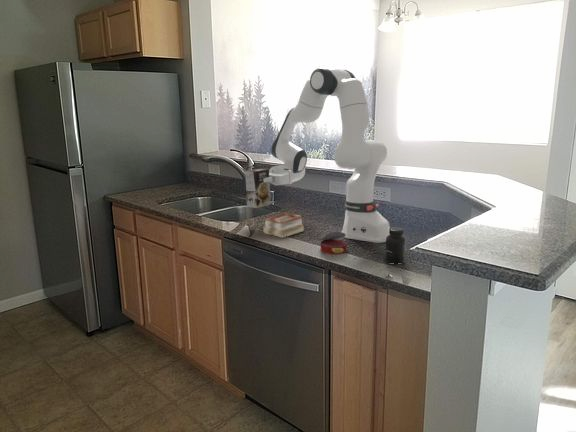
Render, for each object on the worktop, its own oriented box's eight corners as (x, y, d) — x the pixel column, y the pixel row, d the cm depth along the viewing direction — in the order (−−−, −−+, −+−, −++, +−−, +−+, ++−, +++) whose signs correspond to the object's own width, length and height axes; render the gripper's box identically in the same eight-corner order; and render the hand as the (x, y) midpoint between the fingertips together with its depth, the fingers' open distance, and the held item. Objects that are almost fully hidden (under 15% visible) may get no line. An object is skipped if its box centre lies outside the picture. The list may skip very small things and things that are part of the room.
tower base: (303, 230, 199) (303, 215, 197) (282, 237, 189) (282, 222, 188) (284, 226, 206) (284, 212, 204) (263, 233, 196) (263, 217, 195)
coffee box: (257, 208, 199) (255, 171, 195) (246, 206, 203) (244, 170, 199) (271, 204, 206) (269, 168, 202) (260, 203, 210) (258, 168, 206)
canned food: (322, 264, 171) (310, 241, 170) (330, 254, 180) (318, 231, 179) (349, 255, 166) (336, 231, 164) (355, 244, 174) (343, 221, 173)
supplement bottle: (383, 263, 158) (384, 230, 155) (386, 257, 164) (387, 225, 161) (403, 266, 155) (405, 232, 153) (405, 259, 162) (407, 227, 159)
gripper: (261, 166, 217) (240, 170, 207) (294, 170, 204) (273, 174, 194) (261, 180, 219) (240, 184, 209) (294, 184, 206) (273, 188, 196)
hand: (256, 179), depth 201 cm, fingers closed on coffee box, 6 cm apart
